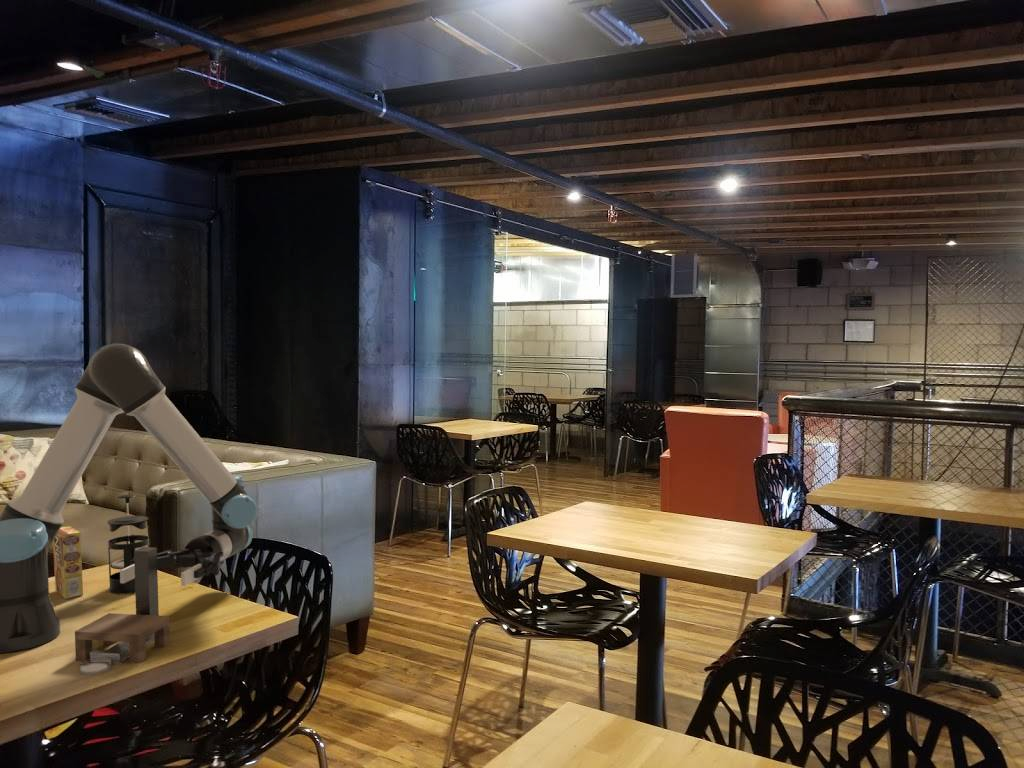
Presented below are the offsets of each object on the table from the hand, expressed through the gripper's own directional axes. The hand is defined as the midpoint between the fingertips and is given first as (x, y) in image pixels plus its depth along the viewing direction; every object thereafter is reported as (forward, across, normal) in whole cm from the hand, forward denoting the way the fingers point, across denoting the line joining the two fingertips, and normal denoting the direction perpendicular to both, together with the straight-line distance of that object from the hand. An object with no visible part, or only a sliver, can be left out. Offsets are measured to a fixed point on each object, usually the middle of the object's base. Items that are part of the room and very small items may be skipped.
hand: (152, 578), depth 160 cm
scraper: (+7, +1, -12) cm, 14 cm away
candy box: (-22, +36, -12) cm, 44 cm away
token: (+17, 0, -12) cm, 21 cm away
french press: (-28, +24, -12) cm, 39 cm away
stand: (+9, 0, -12) cm, 15 cm away
